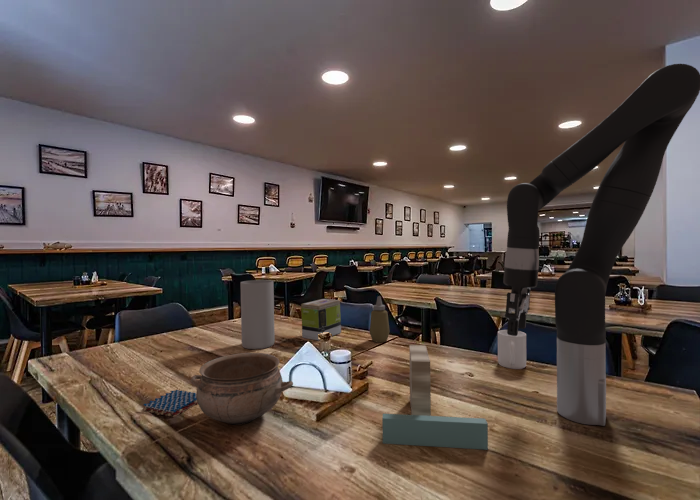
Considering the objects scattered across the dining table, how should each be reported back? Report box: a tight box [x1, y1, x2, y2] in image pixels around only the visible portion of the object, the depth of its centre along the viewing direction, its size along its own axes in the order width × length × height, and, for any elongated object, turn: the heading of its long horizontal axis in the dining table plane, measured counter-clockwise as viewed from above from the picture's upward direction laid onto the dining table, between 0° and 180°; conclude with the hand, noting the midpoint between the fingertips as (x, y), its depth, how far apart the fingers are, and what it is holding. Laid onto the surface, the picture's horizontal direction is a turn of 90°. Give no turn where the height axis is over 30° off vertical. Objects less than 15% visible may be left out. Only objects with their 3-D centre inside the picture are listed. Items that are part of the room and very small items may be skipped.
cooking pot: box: [190, 352, 294, 426], centre depth 81 cm, size 25×19×12 cm
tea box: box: [300, 298, 342, 341], centre depth 152 cm, size 15×10×15 cm, turn 144°
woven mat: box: [142, 389, 198, 418], centre depth 88 cm, size 10×11×2 cm
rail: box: [381, 413, 489, 451], centre depth 70 cm, size 20×2×5 cm, turn 82°
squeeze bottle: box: [369, 295, 390, 343], centre depth 142 cm, size 8×8×18 cm
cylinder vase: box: [240, 279, 276, 350], centre depth 139 cm, size 12×12×25 cm
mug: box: [497, 329, 527, 370], centre depth 111 cm, size 12×8×10 cm
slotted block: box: [408, 344, 432, 416], centre depth 82 cm, size 12×4×14 cm, turn 172°
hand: (516, 331), depth 88 cm, fingers open, 8 cm apart
